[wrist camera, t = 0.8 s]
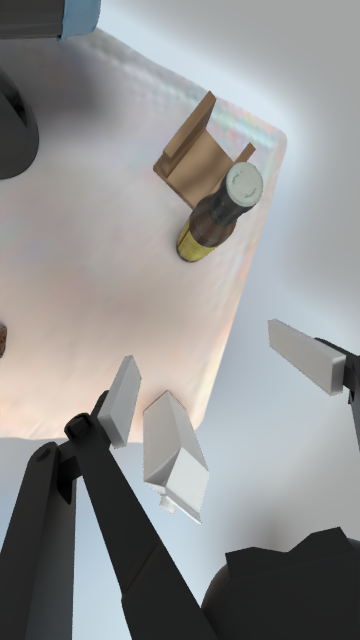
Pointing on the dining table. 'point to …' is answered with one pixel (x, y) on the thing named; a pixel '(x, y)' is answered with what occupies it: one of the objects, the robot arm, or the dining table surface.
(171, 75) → the dining table surface
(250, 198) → the sauce bottle
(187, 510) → the milk carton
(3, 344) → the food item
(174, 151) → the walnut slotted rack
